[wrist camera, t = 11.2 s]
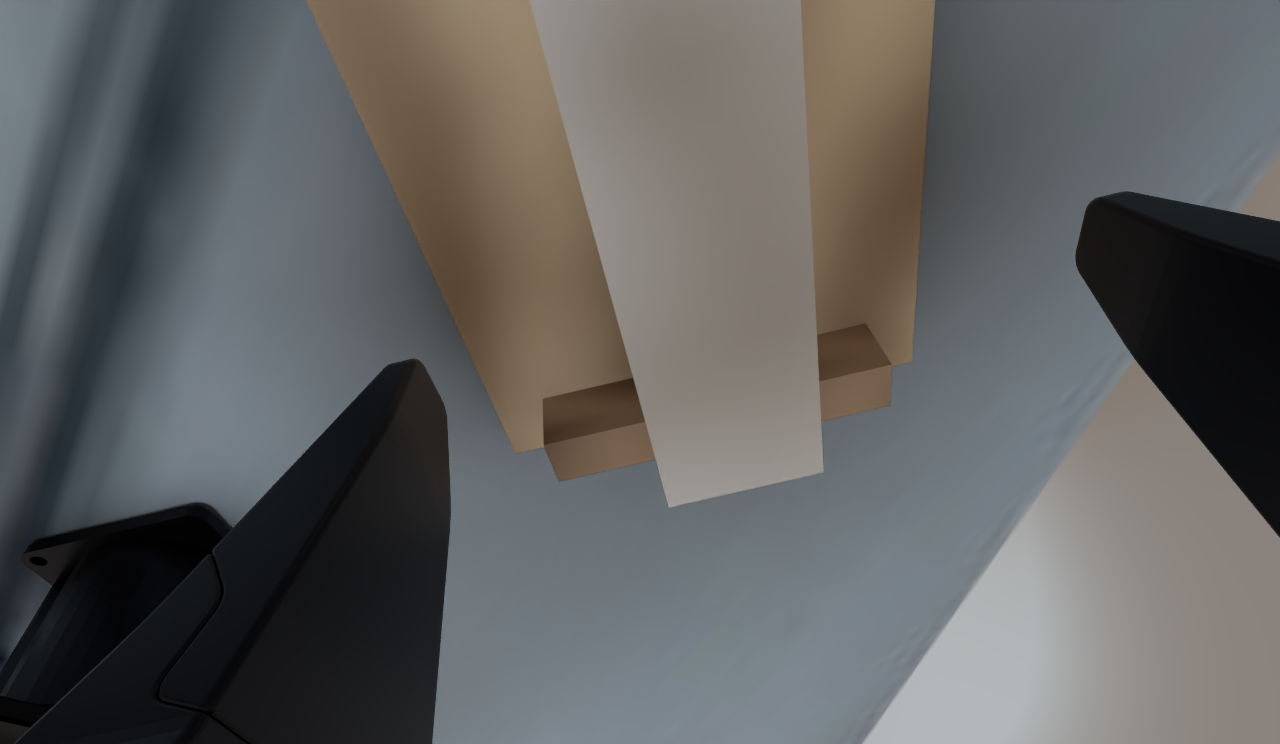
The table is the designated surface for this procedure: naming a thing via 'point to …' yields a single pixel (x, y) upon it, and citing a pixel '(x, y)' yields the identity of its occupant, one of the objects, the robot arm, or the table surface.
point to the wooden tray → (559, 222)
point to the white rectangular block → (700, 224)
